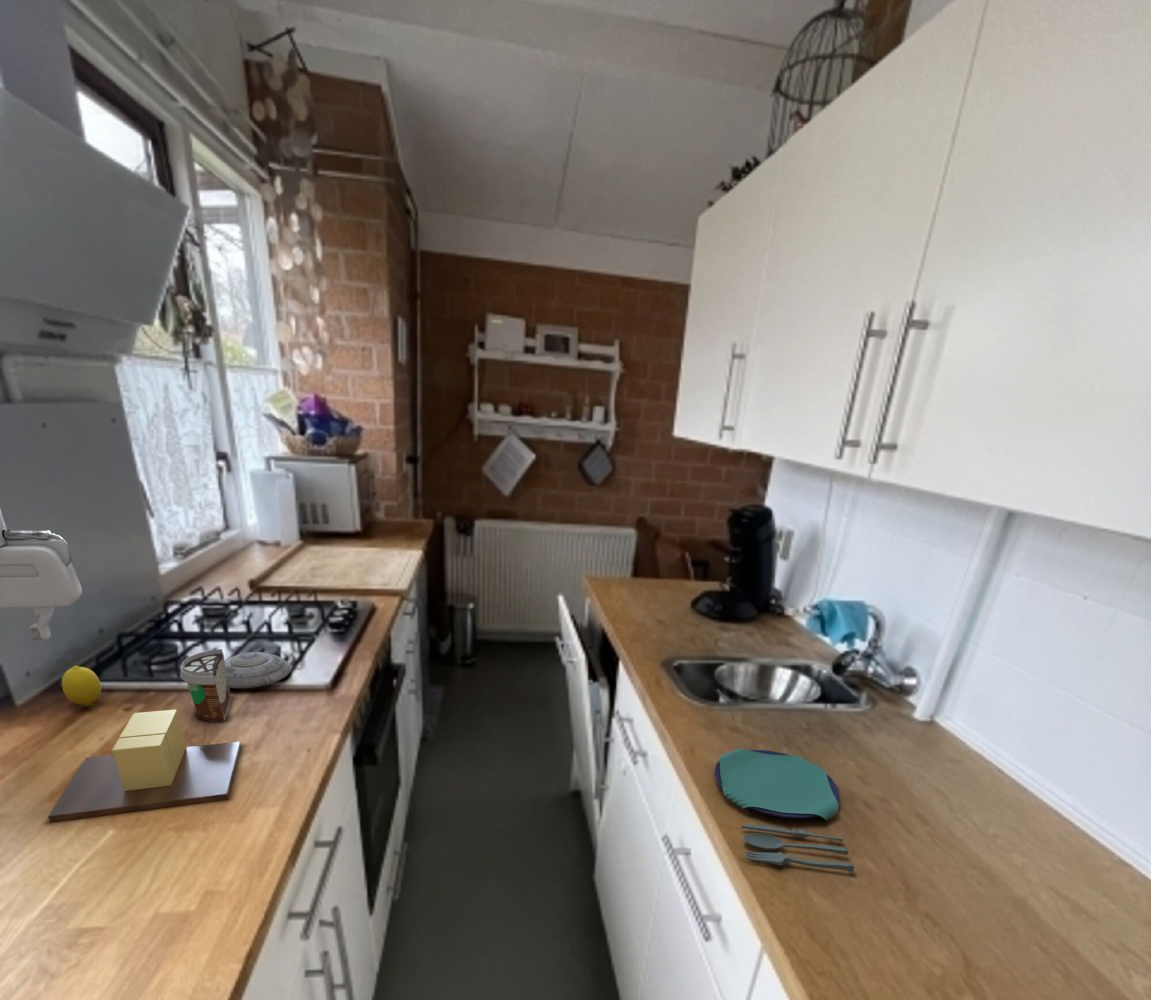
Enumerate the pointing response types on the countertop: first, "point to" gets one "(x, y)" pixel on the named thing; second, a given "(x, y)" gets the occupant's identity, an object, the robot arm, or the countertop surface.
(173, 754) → the butter block
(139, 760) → the butter slice
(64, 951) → the countertop surface
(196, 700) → the food container
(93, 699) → the lemon
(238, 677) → the flying saucer
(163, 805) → the butter board
